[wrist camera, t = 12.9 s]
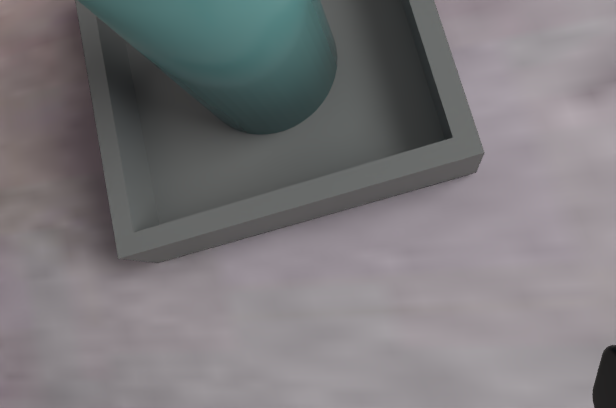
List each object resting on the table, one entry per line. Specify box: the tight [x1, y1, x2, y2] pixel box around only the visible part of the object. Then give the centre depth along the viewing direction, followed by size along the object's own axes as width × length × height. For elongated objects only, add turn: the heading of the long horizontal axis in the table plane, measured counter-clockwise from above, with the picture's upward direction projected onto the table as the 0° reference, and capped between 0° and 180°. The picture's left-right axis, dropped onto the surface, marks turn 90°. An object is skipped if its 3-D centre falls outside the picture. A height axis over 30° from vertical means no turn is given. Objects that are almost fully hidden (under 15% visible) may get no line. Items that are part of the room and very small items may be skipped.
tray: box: [75, 0, 484, 263], centre depth 21 cm, size 14×14×3 cm
